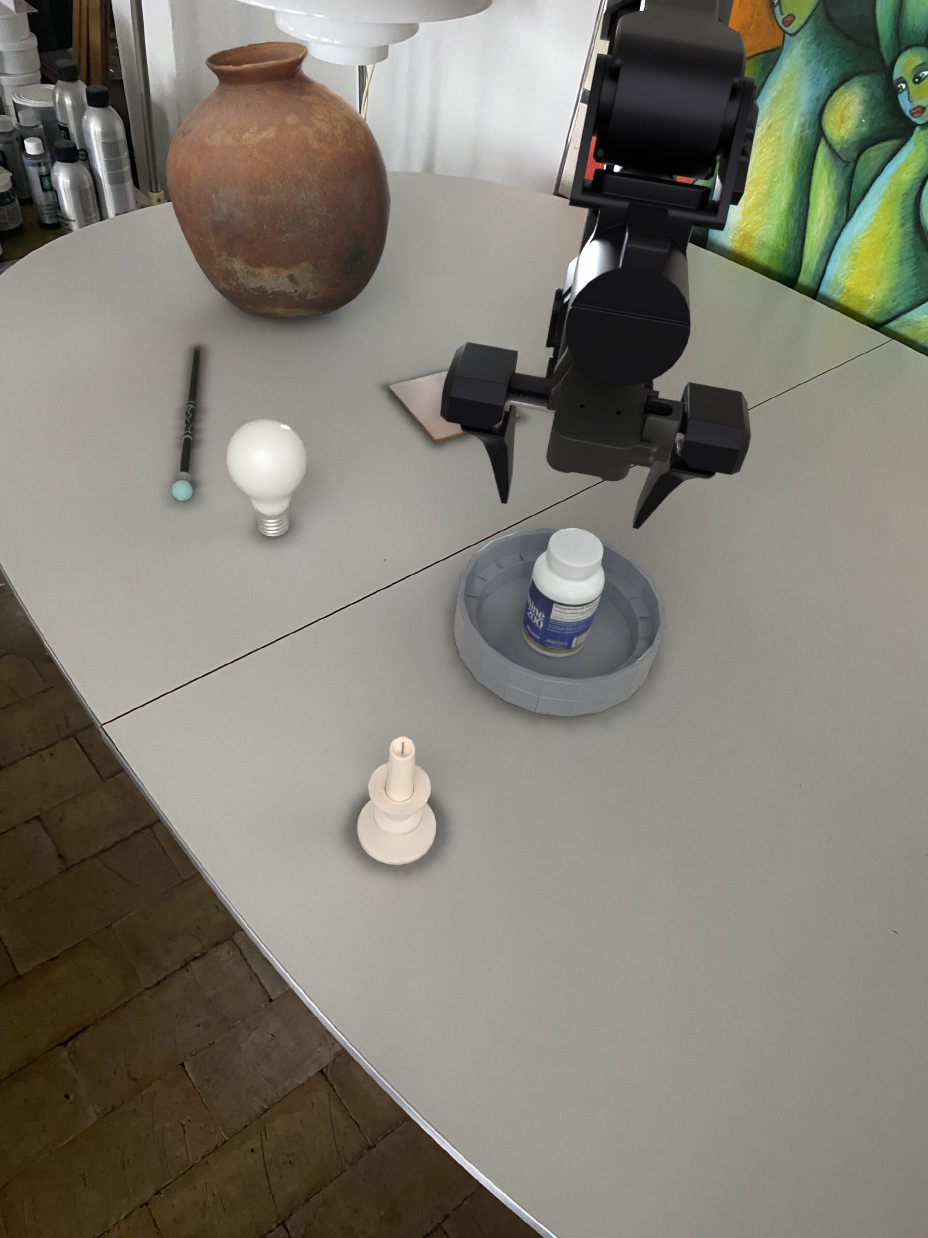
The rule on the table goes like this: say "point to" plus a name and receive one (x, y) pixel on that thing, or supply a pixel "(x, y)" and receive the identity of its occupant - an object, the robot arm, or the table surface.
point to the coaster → (427, 405)
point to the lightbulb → (267, 469)
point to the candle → (398, 809)
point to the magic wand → (187, 439)
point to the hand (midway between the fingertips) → (569, 512)
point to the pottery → (279, 186)
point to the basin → (543, 682)
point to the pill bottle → (564, 593)
